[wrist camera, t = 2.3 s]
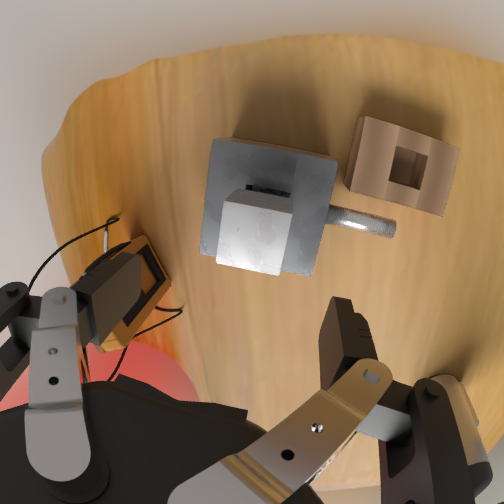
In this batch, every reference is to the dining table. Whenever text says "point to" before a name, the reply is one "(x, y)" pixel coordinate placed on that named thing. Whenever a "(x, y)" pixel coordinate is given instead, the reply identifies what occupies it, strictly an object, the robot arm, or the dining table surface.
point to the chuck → (292, 186)
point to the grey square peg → (254, 230)
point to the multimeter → (151, 290)
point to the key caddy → (400, 165)
